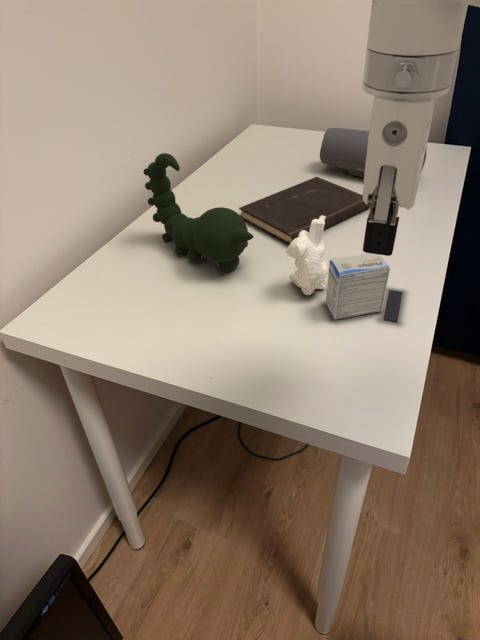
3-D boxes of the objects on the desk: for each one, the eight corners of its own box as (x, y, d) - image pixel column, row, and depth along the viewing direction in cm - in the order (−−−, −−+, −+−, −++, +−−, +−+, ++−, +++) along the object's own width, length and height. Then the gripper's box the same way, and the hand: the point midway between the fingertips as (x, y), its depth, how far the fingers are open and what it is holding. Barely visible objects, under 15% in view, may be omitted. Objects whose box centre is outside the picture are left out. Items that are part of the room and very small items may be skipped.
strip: (402, 292, 80) (402, 291, 79) (397, 322, 74) (397, 321, 74) (389, 290, 80) (390, 289, 80) (383, 320, 74) (383, 319, 74)
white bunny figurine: (306, 269, 86) (309, 207, 78) (339, 282, 82) (346, 219, 75) (277, 292, 81) (278, 228, 73) (311, 307, 78) (316, 241, 70)
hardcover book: (239, 217, 102) (238, 207, 100) (316, 185, 113) (316, 176, 111) (291, 246, 92) (292, 236, 91) (370, 208, 103) (372, 198, 101)
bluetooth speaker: (422, 177, 114) (431, 134, 108) (410, 192, 108) (419, 147, 102) (332, 160, 124) (336, 120, 118) (317, 173, 118) (320, 132, 112)
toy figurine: (147, 253, 95) (238, 293, 80) (124, 157, 84) (224, 182, 69) (183, 235, 100) (275, 269, 85) (166, 142, 89) (267, 162, 74)
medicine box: (370, 296, 79) (378, 250, 74) (382, 312, 76) (391, 266, 70) (324, 304, 78) (328, 258, 73) (334, 321, 75) (339, 274, 69)
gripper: (450, 96, 36) (406, 294, 48) (454, 54, 47) (417, 224, 59) (350, 91, 38) (331, 281, 50) (375, 52, 49) (355, 216, 61)
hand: (377, 250), depth 54 cm, fingers closed
